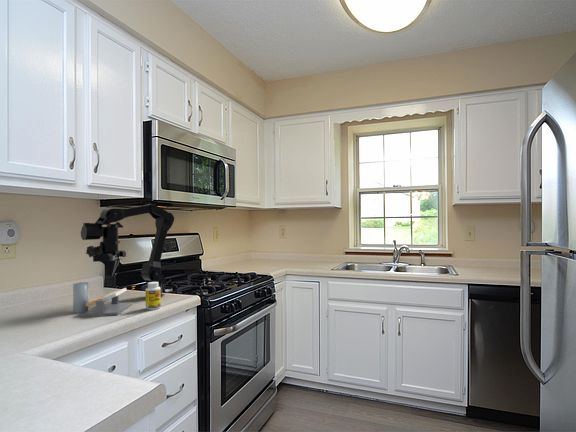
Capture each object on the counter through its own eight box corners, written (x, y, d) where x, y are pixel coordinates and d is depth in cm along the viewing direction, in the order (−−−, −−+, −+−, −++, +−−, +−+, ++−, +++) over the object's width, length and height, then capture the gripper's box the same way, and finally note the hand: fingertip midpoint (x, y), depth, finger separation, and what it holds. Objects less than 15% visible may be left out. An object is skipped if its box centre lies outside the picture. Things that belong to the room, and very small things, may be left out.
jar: (77, 310, 133) (77, 282, 133) (90, 309, 133) (90, 281, 133) (70, 313, 128) (70, 284, 128) (84, 313, 128) (84, 284, 128)
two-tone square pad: (101, 301, 137) (99, 296, 137) (128, 291, 138) (126, 287, 138) (86, 309, 125) (84, 304, 125) (116, 298, 126) (114, 293, 126)
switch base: (99, 306, 139) (99, 292, 139) (132, 304, 140) (132, 291, 140) (80, 317, 123) (80, 301, 123) (117, 315, 124) (117, 300, 124)
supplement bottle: (147, 311, 130) (146, 284, 130) (144, 308, 134) (144, 282, 134) (162, 308, 133) (162, 282, 133) (159, 305, 137) (158, 280, 138)
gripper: (99, 238, 148) (100, 273, 148) (78, 240, 129) (78, 281, 129) (126, 237, 149) (126, 272, 149) (109, 239, 131) (109, 280, 130)
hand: (110, 276), depth 139 cm, fingers closed
